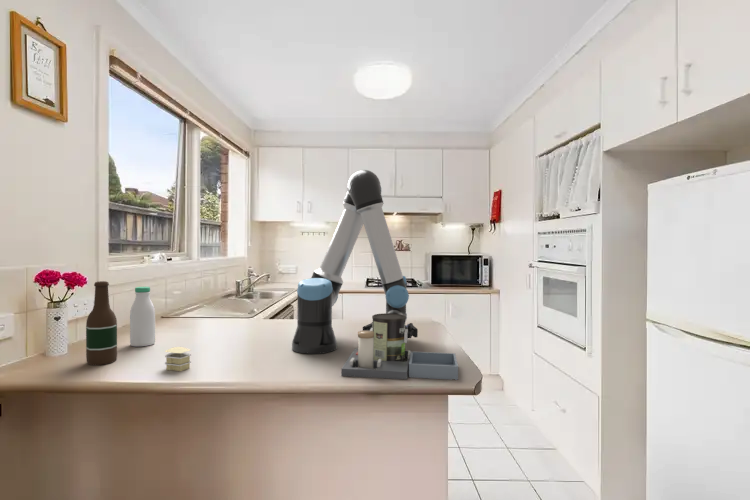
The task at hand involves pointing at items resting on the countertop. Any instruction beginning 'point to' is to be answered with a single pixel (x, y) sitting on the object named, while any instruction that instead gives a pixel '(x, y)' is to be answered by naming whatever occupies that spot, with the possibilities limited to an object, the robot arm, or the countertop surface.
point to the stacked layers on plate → (177, 359)
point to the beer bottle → (101, 329)
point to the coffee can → (389, 337)
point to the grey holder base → (383, 368)
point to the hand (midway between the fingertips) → (387, 337)
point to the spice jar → (365, 349)
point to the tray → (433, 365)
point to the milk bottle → (142, 319)
